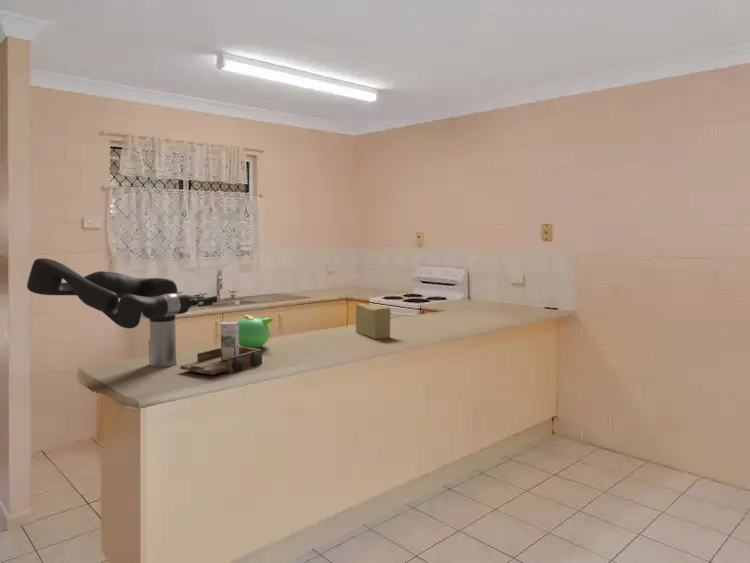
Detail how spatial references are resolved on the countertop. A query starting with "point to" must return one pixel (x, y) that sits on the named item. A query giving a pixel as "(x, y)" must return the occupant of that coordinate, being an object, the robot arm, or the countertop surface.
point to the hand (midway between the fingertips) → (207, 298)
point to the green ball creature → (254, 331)
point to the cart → (232, 358)
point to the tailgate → (204, 368)
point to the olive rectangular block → (373, 321)
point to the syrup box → (229, 339)
